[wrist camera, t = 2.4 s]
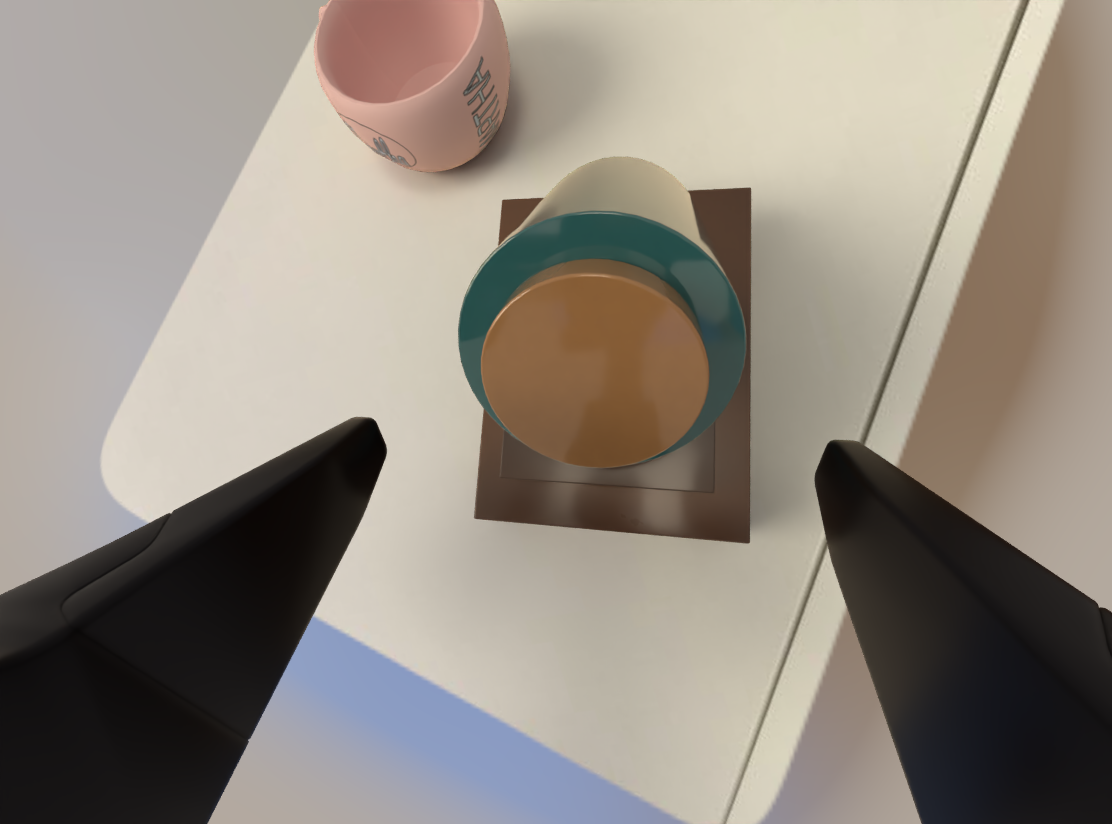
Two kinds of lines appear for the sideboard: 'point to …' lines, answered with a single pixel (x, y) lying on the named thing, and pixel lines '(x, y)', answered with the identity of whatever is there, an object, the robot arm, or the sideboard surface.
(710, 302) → the jar
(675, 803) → the sideboard surface
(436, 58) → the mug
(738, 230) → the stand
